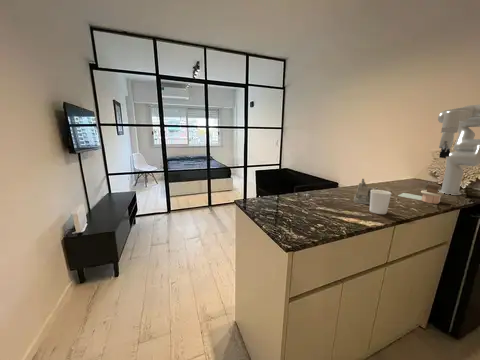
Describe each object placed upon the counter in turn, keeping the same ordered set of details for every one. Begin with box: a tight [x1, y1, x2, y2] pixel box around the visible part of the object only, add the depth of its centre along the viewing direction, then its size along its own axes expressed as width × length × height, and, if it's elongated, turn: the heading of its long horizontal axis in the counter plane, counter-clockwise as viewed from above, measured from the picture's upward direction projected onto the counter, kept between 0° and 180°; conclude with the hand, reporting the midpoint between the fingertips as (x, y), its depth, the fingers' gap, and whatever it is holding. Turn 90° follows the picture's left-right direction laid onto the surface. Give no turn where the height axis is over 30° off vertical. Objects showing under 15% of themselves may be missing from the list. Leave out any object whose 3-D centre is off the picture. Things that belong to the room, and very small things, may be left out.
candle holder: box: [368, 189, 392, 215], centre depth 118 cm, size 10×10×12 cm
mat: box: [397, 192, 422, 201], centre depth 147 cm, size 13×13×1 cm
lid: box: [420, 183, 445, 197], centre depth 134 cm, size 11×11×6 cm
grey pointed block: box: [352, 178, 379, 205], centre depth 137 cm, size 16×16×15 cm
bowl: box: [421, 193, 442, 205], centre depth 135 cm, size 8×8×6 cm
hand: (444, 157), depth 136 cm, fingers open, 9 cm apart
